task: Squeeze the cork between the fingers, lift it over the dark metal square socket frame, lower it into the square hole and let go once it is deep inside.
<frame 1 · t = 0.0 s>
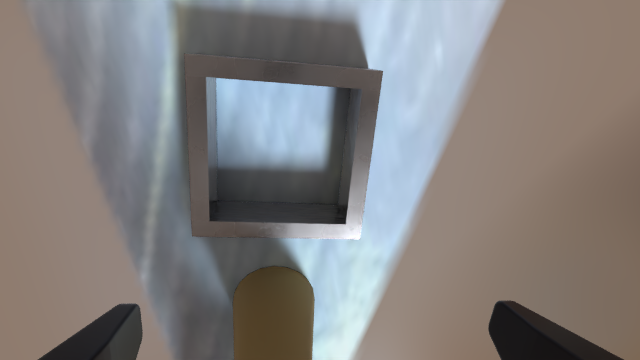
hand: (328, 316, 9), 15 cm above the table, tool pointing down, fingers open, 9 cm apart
cork: (274, 299, 26), on the table
socket frame: (281, 144, 22), on the table
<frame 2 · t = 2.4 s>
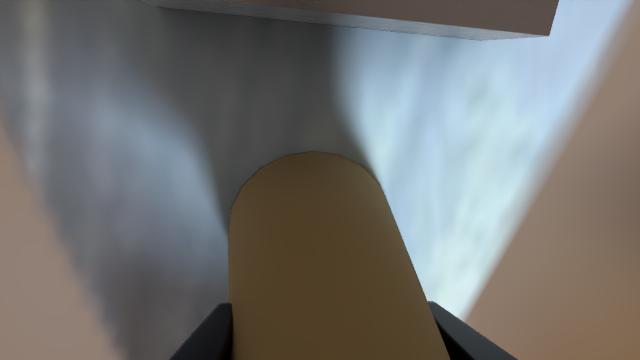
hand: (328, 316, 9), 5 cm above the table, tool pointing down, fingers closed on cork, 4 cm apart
cork: (311, 227, 13), on the table, touching gripper
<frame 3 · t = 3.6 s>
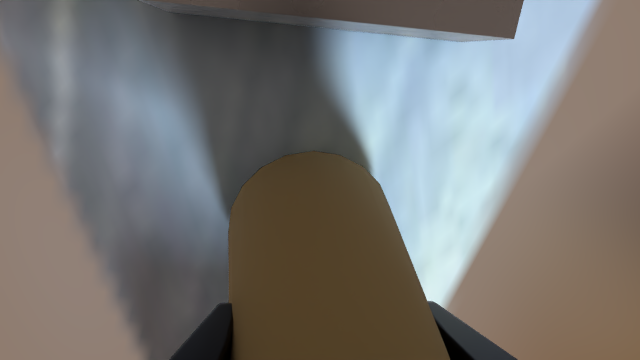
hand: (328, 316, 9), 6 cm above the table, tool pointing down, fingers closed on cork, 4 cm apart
cork: (311, 227, 13), point 1 cm above the table, touching gripper
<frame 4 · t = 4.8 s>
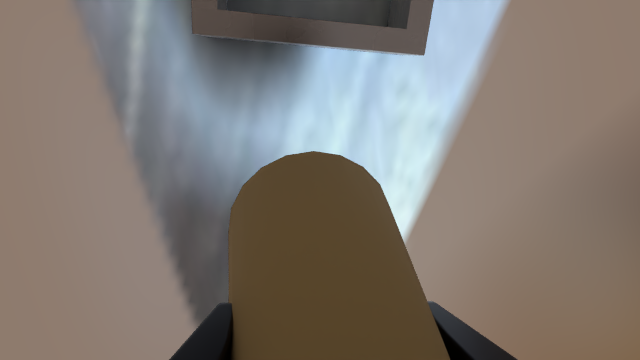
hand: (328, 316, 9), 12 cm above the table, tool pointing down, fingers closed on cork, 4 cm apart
cork: (311, 227, 13), point 7 cm above the table, touching gripper
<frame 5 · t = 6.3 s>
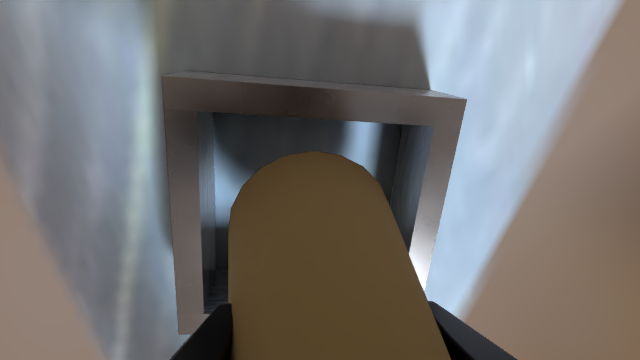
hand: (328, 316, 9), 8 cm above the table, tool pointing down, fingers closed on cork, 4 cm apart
cork: (311, 227, 13), point 3 cm above the table, touching gripper
socket frame: (305, 194, 16), on the table
when the fingers open (5 cm above the table, at t = 7.4 s): cork stays where it is, resting in socket frame.
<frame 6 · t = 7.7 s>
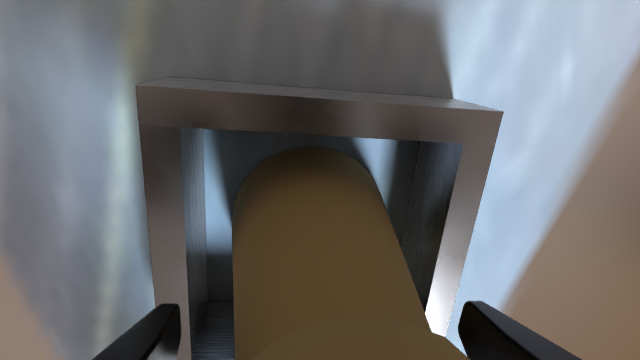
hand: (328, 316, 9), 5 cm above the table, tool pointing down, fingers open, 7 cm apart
cork: (308, 217, 14), resting in socket frame
socket frame: (309, 217, 14), on the table
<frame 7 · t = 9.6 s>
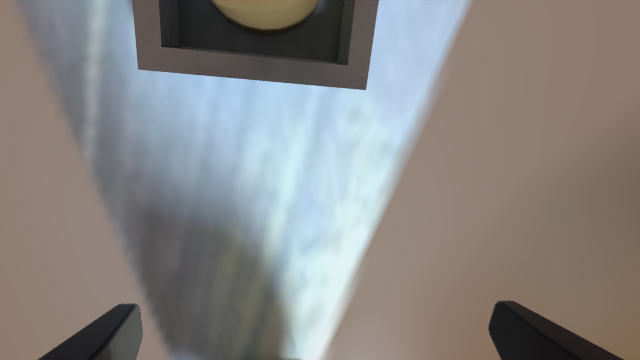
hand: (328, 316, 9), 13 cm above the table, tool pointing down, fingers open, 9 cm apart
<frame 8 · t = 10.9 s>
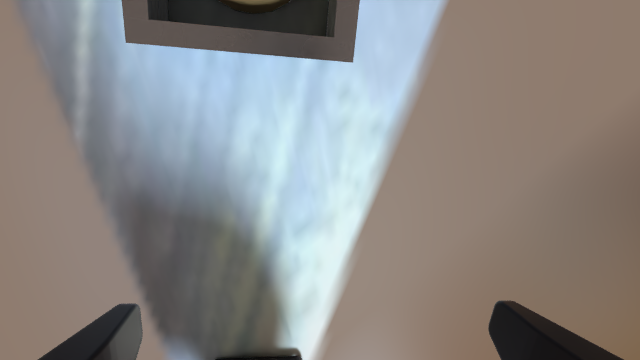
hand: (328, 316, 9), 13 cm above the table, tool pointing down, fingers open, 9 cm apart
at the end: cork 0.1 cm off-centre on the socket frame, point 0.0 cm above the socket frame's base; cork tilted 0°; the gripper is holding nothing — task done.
